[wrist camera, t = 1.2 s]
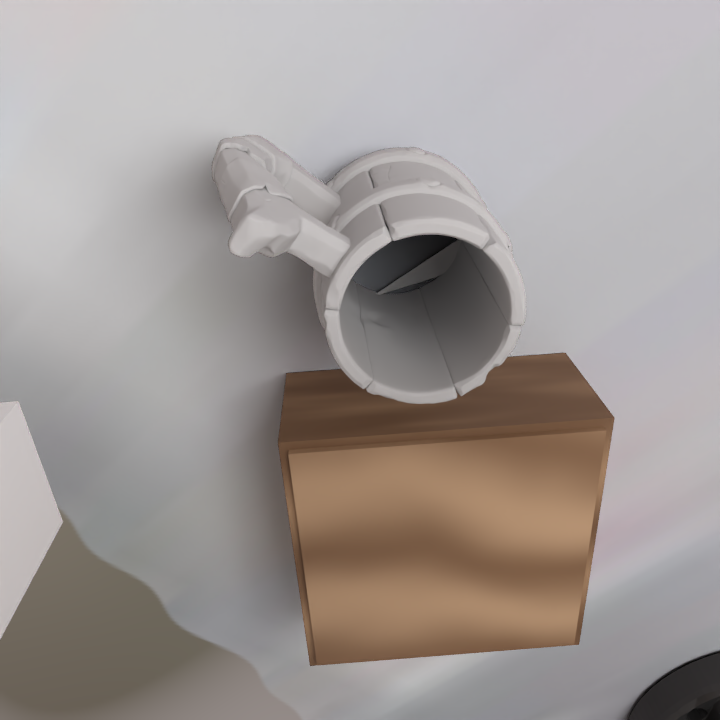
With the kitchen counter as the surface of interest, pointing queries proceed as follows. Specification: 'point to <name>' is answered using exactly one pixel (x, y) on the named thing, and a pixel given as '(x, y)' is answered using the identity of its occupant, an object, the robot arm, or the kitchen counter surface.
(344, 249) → the mug
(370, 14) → the kitchen counter surface
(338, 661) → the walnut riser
